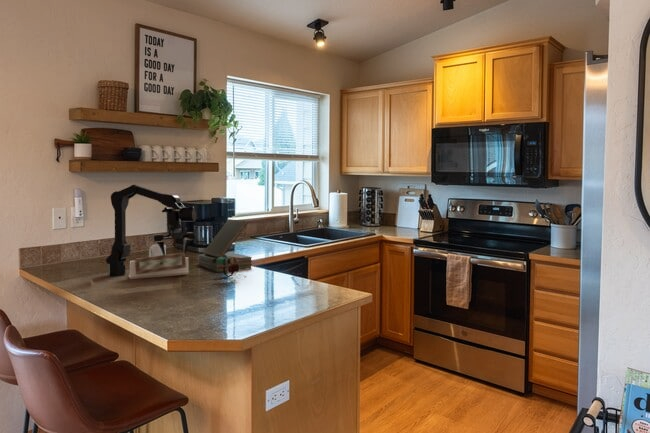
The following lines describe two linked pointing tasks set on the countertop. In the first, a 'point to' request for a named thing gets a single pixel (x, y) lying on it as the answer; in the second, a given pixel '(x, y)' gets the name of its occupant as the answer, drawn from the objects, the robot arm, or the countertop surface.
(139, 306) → the countertop surface
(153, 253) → the mug
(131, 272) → the long wooden tray
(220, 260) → the binoculars
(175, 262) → the picture frame
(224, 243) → the open lidded box
